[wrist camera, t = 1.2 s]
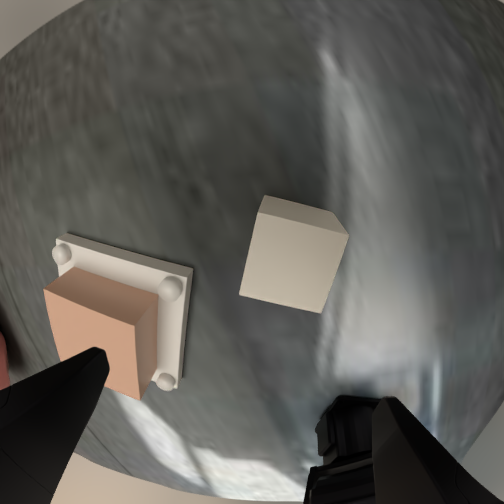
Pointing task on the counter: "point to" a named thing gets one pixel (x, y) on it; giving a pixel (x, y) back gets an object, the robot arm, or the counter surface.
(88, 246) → the base plate
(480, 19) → the counter surface
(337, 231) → the cream brick
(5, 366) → the cell model
